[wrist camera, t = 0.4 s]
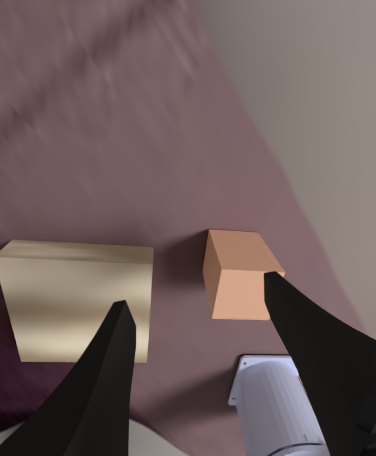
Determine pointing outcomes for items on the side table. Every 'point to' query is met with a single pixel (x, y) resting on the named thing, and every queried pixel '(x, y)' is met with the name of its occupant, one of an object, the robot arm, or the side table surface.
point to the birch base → (72, 294)
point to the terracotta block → (237, 274)
